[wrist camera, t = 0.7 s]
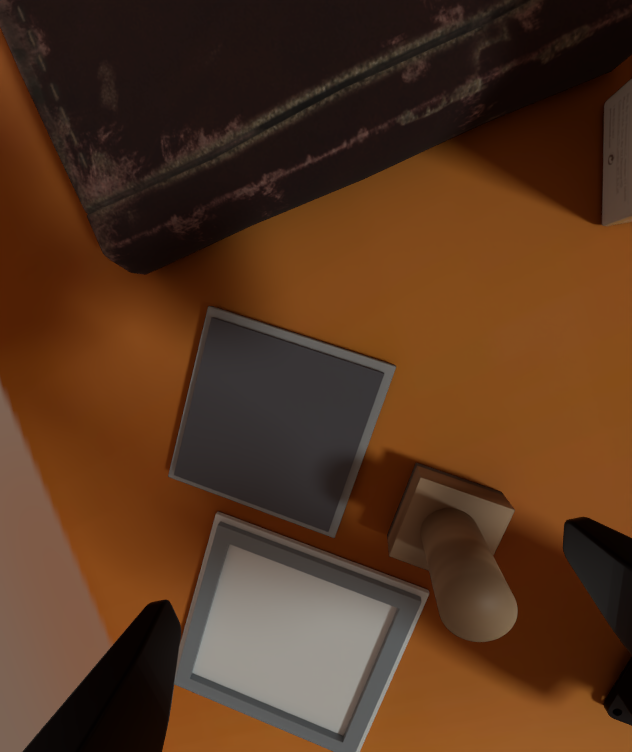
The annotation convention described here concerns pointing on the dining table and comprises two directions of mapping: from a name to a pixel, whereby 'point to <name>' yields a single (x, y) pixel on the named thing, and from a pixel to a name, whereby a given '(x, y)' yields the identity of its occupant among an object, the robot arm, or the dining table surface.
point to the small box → (617, 158)
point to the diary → (277, 97)
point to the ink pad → (278, 420)
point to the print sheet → (294, 634)
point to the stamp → (457, 550)
